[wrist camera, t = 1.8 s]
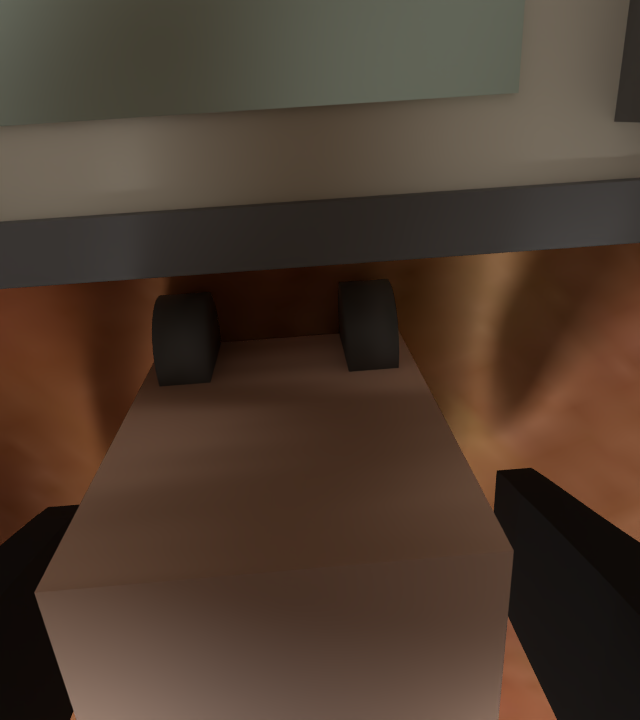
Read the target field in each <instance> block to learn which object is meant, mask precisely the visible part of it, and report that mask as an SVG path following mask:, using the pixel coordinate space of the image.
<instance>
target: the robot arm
mask: <svg viewBox="0 0 640 720" xmlns="http://www.w3.org/2000/svg"><path fill="white" fill-rule="evenodd" d="M78 507H79V505H70V506H58V507H48V508H46V509H45V510H44V511H42V512H41V513H40V514H38V515H37V516H36V517H35V518H33V519H32V520H31V521H30V522H28V523H27V524H26V525H25V526H23V527H22V528H21V529H20V530H19V531H17V532H16V533H15V534H14V535H13V536H11V537H10V538H9V539H8V540H7V541H6V542H4V543H3V544H2V545H1V546H0V720H70V718H71V716H72V713H73V708H72V705H71V702H70V699H69V696H68V693H67V690H66V686H65V683H64V680H63V677H62V674H61V671H60V668H59V665H58V662H57V659H56V656H55V653H54V650H53V647H52V644H51V641H50V638H49V635H48V632H47V629H46V626H45V623H44V620H43V617H42V614H41V611H40V608H39V605H38V602H37V599H36V596H35V593H34V592H35V590H36V588H37V586H38V584H39V583H40V581H41V579H42V577H43V575H44V573H45V571H46V569H47V567H48V565H49V563H50V561H51V559H52V558H53V556H54V554H55V552H56V550H57V548H58V546H59V544H60V542H61V540H62V538H63V536H64V534H65V532H66V531H67V529H68V527H69V525H70V523H71V521H72V519H73V517H74V515H75V513H76V511H77V509H78ZM494 514H495V516H496V518H497V520H498V522H499V523H500V525H501V527H502V529H503V531H504V533H505V535H506V537H507V539H508V541H509V543H510V544H511V546H512V548H513V550H514V554H513V565H512V576H511V587H510V598H509V609H508V617H509V619H510V621H511V623H512V626H513V628H514V630H515V632H516V634H517V636H518V638H519V641H520V643H521V645H522V647H523V649H524V651H525V653H526V655H527V658H528V660H529V662H530V664H531V666H532V668H533V670H534V672H535V674H536V676H537V679H538V681H539V683H540V685H541V687H542V689H543V691H544V693H545V695H546V697H547V699H548V702H549V704H550V706H551V708H552V710H553V712H554V714H555V716H556V718H557V720H640V542H638V541H637V540H635V539H634V538H632V537H631V536H629V535H628V534H626V533H625V532H623V531H622V530H620V529H619V528H617V527H616V526H614V525H613V524H611V523H610V522H609V521H607V520H606V519H604V518H603V517H601V516H600V515H598V514H597V513H596V512H594V511H593V510H591V509H590V508H588V507H587V506H586V505H584V504H583V503H581V502H580V501H579V500H577V499H576V498H574V497H573V496H572V495H570V494H569V493H567V492H566V491H564V490H563V489H562V488H560V487H559V486H557V485H556V484H555V483H553V482H552V481H550V480H549V479H547V478H546V477H544V476H543V475H542V474H540V473H538V472H537V471H535V470H534V469H532V468H523V469H511V470H499V471H497V475H496V489H495V503H494Z"/></svg>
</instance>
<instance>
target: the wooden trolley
mask: <svg viewBox="0 0 640 720" xmlns="http://www.w3.org/2000/svg"><path fill="white" fill-rule="evenodd" d="M338 317H339V333H338V334H325V335H312V336H299V337H286V338H272V339H259V340H246V341H233V342H221V338H220V329H219V322H218V316H217V311H216V306H215V303H214V299H213V297H212V295H211V293H210V292H201V293H187V294H173V295H160V296H159V297H158V298H157V300H156V302H155V305H154V310H153V319H152V344H153V356H154V363H153V365H152V367H151V369H150V371H149V373H148V374H147V376H146V378H145V380H144V382H143V384H142V386H141V388H140V390H139V392H138V394H137V396H136V398H135V399H134V401H133V403H132V405H131V407H130V409H129V411H128V413H127V415H126V417H125V419H124V421H123V423H122V425H121V426H120V428H119V430H118V432H117V434H116V436H115V438H114V440H113V442H112V444H111V446H110V448H109V450H108V452H107V453H106V455H105V457H104V459H103V461H102V463H101V465H100V467H99V469H98V471H97V473H96V475H95V477H94V479H93V480H92V482H91V484H90V486H89V488H88V490H87V492H86V494H85V496H84V498H83V500H82V502H81V504H80V505H79V507H78V509H77V511H76V513H75V515H74V517H73V519H72V521H71V523H70V525H69V527H68V529H67V531H66V532H65V534H64V536H63V538H62V540H61V542H60V544H59V546H58V548H57V550H56V552H55V554H54V556H53V558H52V559H51V561H50V563H49V565H48V567H47V569H46V571H45V573H44V575H43V577H42V579H41V581H40V583H39V584H38V586H37V588H36V590H35V592H34V593H35V596H36V599H37V602H38V605H39V608H40V611H41V614H42V617H43V620H44V623H45V626H46V629H47V632H48V635H49V638H50V641H51V644H52V647H53V650H54V653H55V656H56V659H57V662H58V665H59V668H60V671H61V674H62V677H63V680H64V683H65V686H66V690H67V693H68V696H69V699H70V702H71V705H72V708H73V711H74V714H75V717H76V720H498V718H499V707H500V696H501V685H502V674H503V663H504V652H505V641H506V630H507V620H508V609H509V598H510V587H511V576H512V565H513V554H514V550H513V548H512V546H511V544H510V543H509V541H508V539H507V537H506V535H505V533H504V531H503V529H502V527H501V525H500V523H499V522H498V520H497V518H496V516H495V514H494V512H493V510H492V508H491V506H490V504H489V502H488V501H487V499H486V497H485V495H484V493H483V491H482V489H481V487H480V485H479V483H478V481H477V479H476V478H475V476H474V474H473V472H472V470H471V468H470V466H469V464H468V462H467V460H466V458H465V457H464V455H463V453H462V451H461V449H460V447H459V445H458V443H457V441H456V439H455V437H454V436H453V434H452V432H451V430H450V428H449V426H448V424H447V422H446V420H445V418H444V416H443V414H442V413H441V411H440V409H439V407H438V405H437V403H436V401H435V399H434V397H433V395H432V393H431V392H430V390H429V388H428V386H427V384H426V382H425V380H424V378H423V376H422V374H421V372H420V371H419V369H418V367H417V365H416V363H415V361H414V359H413V357H412V355H411V353H410V351H409V349H408V348H407V346H406V344H405V342H404V340H403V338H402V336H401V334H400V332H399V330H398V320H397V312H396V305H395V299H394V294H393V290H392V287H391V284H390V282H389V280H388V279H379V280H365V281H351V282H339V285H338Z"/></svg>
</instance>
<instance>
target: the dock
mask: <svg viewBox="0 0 640 720" xmlns="http://www.w3.org/2000/svg"><path fill="white" fill-rule="evenodd" d="M629 243H640V0H0V289H6V288H19V287H33V286H47V285H61V284H75V283H89V282H102V281H116V280H130V279H144V278H158V277H172V276H186V275H199V274H213V273H227V272H241V271H255V270H269V269H283V268H296V267H310V266H324V265H338V264H352V263H366V262H380V261H393V260H407V259H421V258H435V257H449V256H463V255H477V254H490V253H504V252H518V251H532V250H546V249H560V248H574V247H587V246H601V245H615V244H629Z"/></svg>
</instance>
